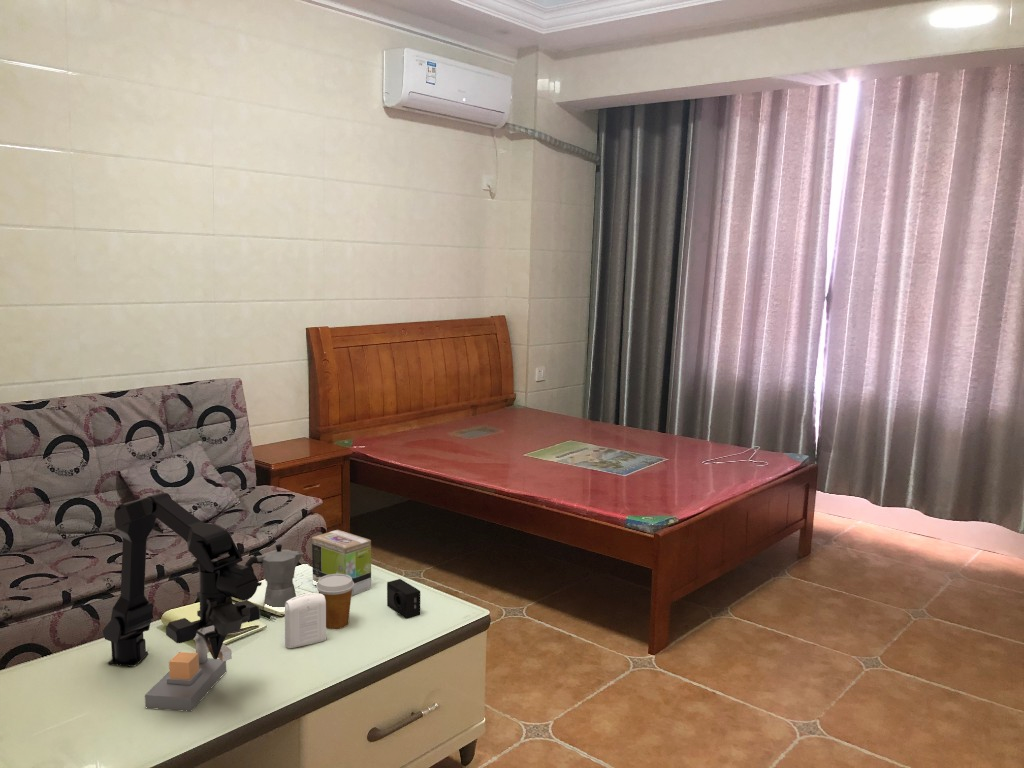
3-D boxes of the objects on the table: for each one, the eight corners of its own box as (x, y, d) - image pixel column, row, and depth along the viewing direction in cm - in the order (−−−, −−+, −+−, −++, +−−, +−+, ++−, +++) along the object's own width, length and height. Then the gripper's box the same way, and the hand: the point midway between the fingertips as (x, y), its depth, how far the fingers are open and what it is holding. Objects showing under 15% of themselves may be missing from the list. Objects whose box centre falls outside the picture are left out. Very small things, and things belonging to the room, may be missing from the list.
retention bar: (220, 662, 179) (220, 653, 179) (192, 638, 190) (191, 630, 189) (233, 658, 181) (233, 649, 180) (204, 634, 191) (204, 626, 191)
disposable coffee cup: (362, 621, 219) (361, 578, 217) (336, 635, 211) (335, 590, 209) (335, 613, 224) (334, 570, 222) (309, 626, 216) (308, 581, 214)
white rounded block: (322, 634, 211) (321, 587, 209) (329, 640, 208) (328, 593, 206) (282, 644, 206) (281, 596, 204) (288, 651, 202) (287, 602, 200)
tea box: (372, 588, 240) (372, 539, 238) (345, 599, 233) (344, 548, 230) (338, 575, 250) (338, 527, 248) (311, 585, 242) (310, 536, 240)
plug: (167, 697, 181) (165, 662, 179) (179, 684, 186) (178, 650, 185) (191, 698, 180) (190, 664, 179) (203, 686, 185) (201, 652, 184)
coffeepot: (301, 597, 233) (299, 535, 230) (309, 610, 225) (307, 546, 222) (243, 607, 226) (241, 543, 223) (250, 621, 218) (247, 555, 215)
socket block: (145, 708, 176) (143, 671, 175) (184, 668, 193) (183, 635, 191) (191, 711, 175) (189, 674, 174) (226, 671, 192) (225, 637, 191)
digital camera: (382, 607, 228) (382, 582, 227) (400, 602, 232) (400, 578, 230) (402, 620, 220) (402, 595, 219) (420, 615, 223) (420, 590, 222)
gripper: (188, 612, 165) (190, 687, 167) (273, 588, 179) (273, 658, 181) (163, 596, 173) (165, 667, 175) (247, 574, 186) (247, 641, 188)
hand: (215, 658), depth 180 cm, fingers closed
